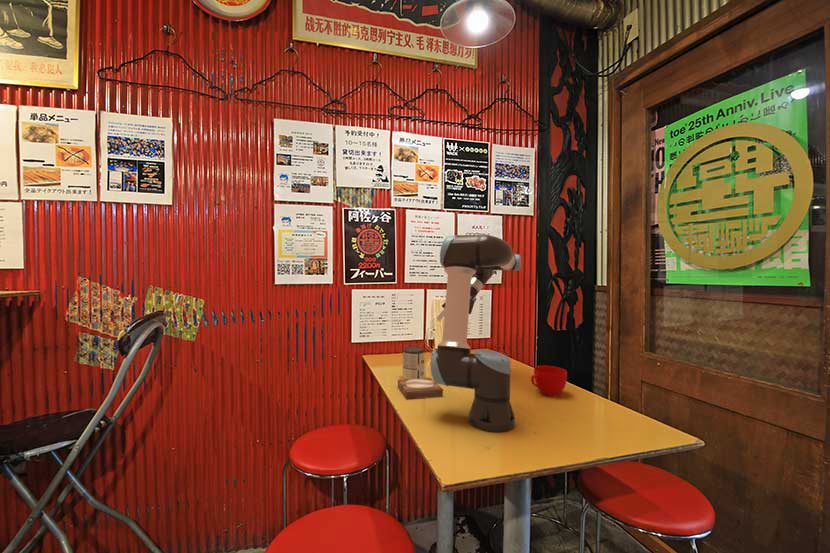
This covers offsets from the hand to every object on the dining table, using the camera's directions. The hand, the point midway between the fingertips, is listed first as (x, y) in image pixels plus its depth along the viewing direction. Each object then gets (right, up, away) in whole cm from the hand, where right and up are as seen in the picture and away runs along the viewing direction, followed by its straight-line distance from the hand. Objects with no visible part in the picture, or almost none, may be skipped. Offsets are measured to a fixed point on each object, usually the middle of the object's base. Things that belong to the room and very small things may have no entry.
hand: (445, 321), depth 165 cm
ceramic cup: (+40, -28, -17) cm, 52 cm away
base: (-13, -27, -18) cm, 35 cm away
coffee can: (-15, -27, -1) cm, 31 cm away
